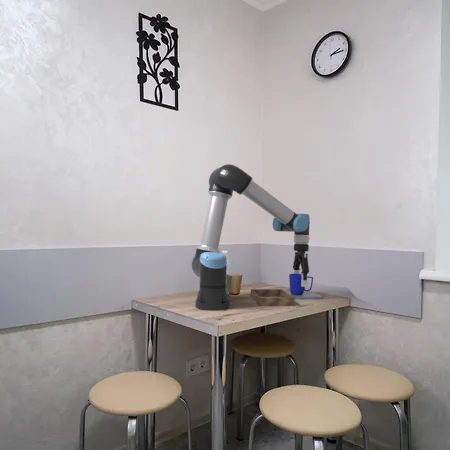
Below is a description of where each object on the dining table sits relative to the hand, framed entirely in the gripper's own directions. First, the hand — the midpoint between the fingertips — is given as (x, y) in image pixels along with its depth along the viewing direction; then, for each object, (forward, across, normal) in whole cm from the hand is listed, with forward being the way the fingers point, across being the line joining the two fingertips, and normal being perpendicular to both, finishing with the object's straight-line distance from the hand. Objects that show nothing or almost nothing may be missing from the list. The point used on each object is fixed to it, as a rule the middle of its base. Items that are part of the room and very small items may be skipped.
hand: (300, 284), depth 186 cm
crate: (+6, -11, +18) cm, 22 cm away
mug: (+5, 0, 0) cm, 5 cm away
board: (+6, 0, 0) cm, 6 cm away
